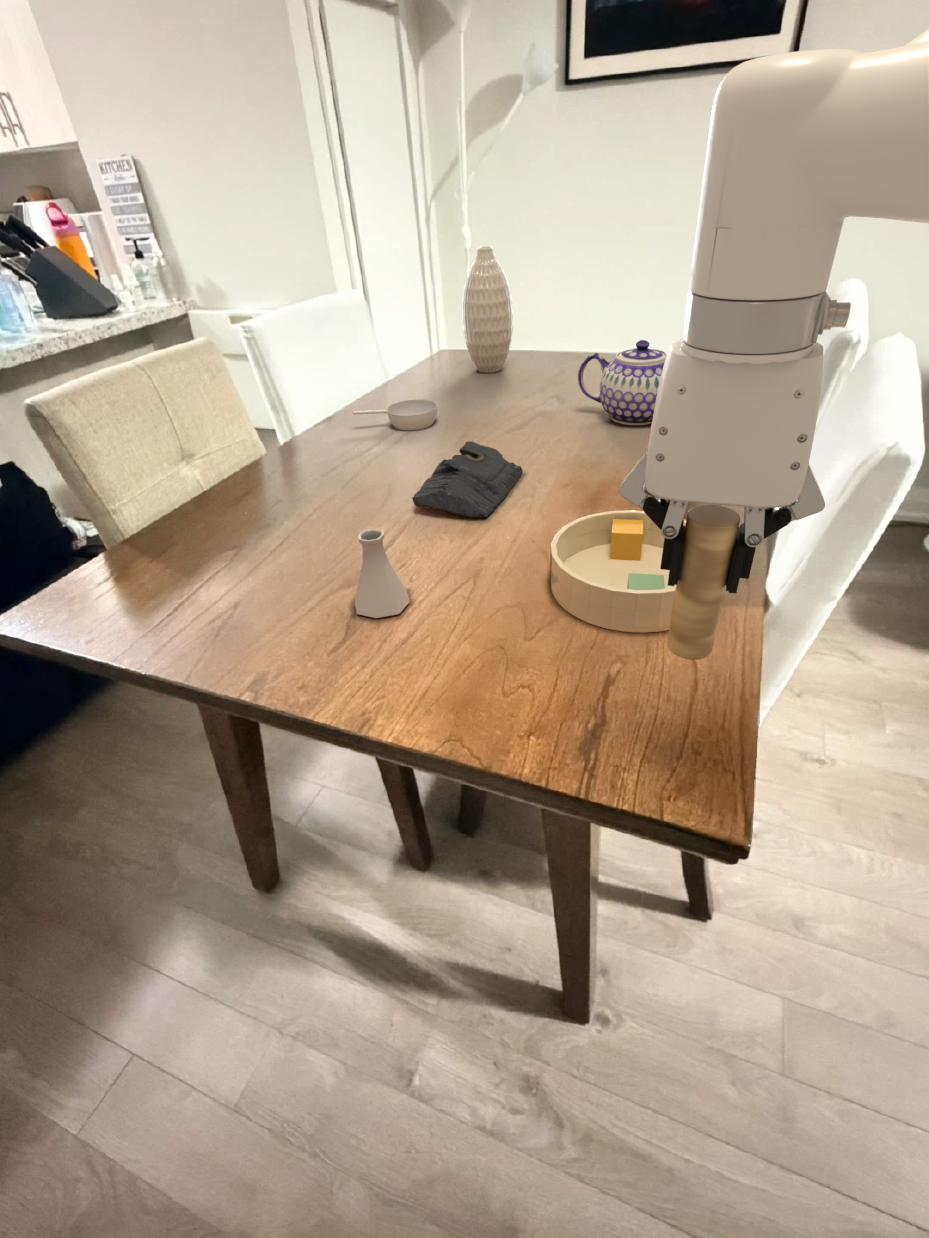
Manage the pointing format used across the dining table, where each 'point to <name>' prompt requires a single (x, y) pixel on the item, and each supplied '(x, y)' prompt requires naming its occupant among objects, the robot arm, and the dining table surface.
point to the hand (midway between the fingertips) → (702, 578)
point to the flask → (378, 580)
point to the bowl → (609, 575)
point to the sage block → (645, 581)
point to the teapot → (628, 383)
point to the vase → (487, 312)
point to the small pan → (408, 414)
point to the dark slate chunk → (469, 482)
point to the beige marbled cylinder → (702, 580)
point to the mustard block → (626, 539)
